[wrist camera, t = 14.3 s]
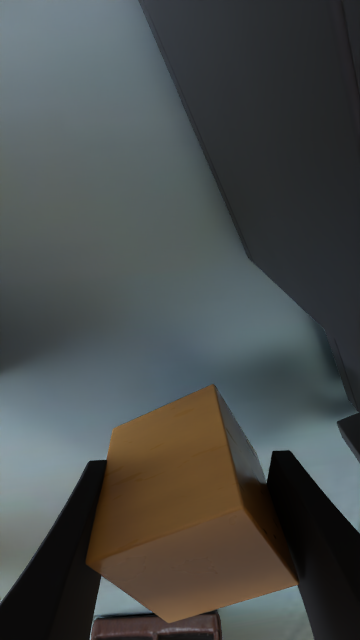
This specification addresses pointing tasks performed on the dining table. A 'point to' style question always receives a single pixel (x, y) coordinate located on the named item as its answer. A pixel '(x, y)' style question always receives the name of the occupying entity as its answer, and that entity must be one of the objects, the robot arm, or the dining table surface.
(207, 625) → the letter holder
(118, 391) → the dining table surface
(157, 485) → the block
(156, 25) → the black drawer cabinet
